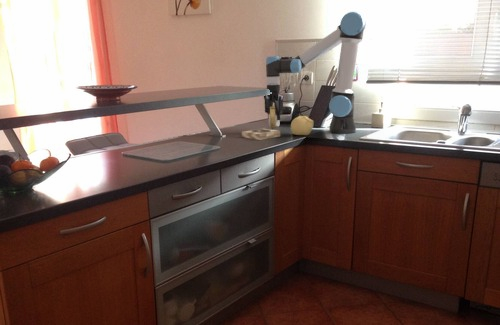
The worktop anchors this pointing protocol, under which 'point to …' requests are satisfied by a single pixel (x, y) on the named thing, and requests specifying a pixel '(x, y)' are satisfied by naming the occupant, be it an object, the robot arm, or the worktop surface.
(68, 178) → the worktop surface
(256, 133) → the jig
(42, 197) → the worktop surface
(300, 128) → the pale yellow round lump
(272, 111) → the bushing
